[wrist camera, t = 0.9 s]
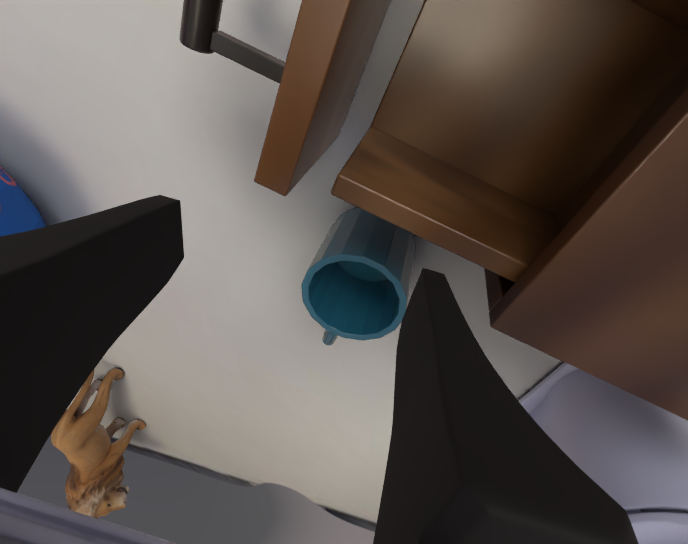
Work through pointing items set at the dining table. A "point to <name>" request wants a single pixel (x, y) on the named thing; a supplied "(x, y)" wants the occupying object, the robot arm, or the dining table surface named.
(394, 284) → the blue mug
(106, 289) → the robot arm
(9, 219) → the ceramic pot
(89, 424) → the lion figurine
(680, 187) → the cabinet
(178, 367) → the dining table surface
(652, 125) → the drawer
